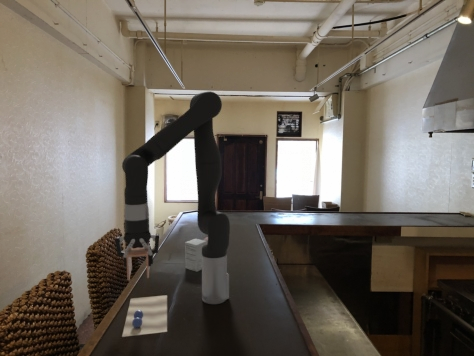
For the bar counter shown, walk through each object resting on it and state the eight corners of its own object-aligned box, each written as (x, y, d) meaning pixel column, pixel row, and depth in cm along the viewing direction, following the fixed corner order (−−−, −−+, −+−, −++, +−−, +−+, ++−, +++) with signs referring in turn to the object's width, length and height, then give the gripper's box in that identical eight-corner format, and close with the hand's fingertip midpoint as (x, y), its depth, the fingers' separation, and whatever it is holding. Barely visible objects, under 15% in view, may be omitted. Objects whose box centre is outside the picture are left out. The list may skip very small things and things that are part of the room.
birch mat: (130, 301, 119) (130, 298, 119) (167, 297, 121) (167, 295, 121) (122, 340, 95) (122, 336, 95) (167, 334, 98) (167, 331, 98)
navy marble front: (140, 323, 102) (140, 314, 102) (143, 328, 100) (143, 318, 99) (131, 326, 101) (130, 317, 100) (133, 331, 98) (133, 321, 98)
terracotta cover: (130, 268, 111) (129, 245, 110) (149, 266, 112) (148, 244, 111) (127, 280, 101) (126, 255, 100) (148, 278, 102) (147, 253, 102)
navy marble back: (141, 316, 107) (141, 307, 106) (144, 320, 104) (144, 311, 104) (132, 318, 105) (132, 310, 105) (135, 323, 102) (134, 314, 102)
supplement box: (195, 263, 156) (195, 238, 154) (207, 267, 151) (207, 240, 150) (184, 268, 150) (184, 241, 148) (196, 272, 145) (196, 244, 144)
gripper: (159, 213, 110) (161, 260, 112) (114, 215, 106) (117, 264, 108) (159, 218, 102) (161, 268, 104) (111, 221, 99) (114, 273, 101)
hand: (138, 266), depth 106 cm, fingers closed on terracotta cover, 6 cm apart
